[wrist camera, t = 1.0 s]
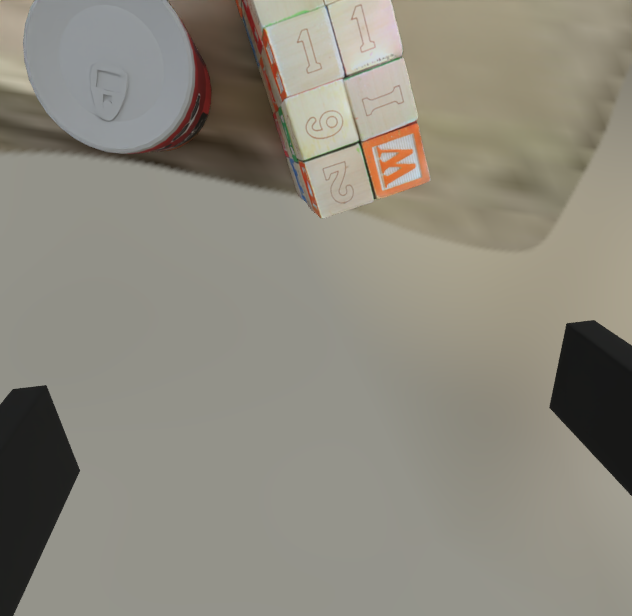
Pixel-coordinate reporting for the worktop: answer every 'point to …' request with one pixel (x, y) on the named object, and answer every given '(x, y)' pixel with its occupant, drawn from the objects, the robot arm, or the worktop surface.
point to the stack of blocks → (338, 98)
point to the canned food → (117, 73)
